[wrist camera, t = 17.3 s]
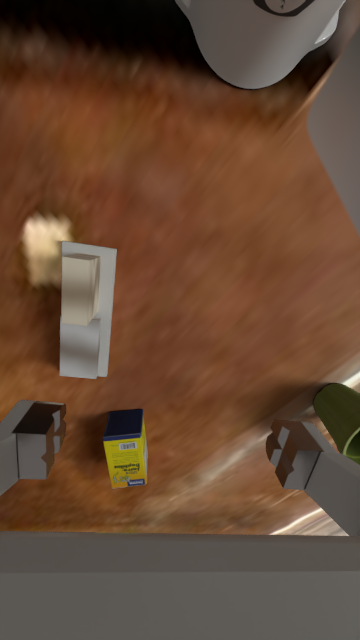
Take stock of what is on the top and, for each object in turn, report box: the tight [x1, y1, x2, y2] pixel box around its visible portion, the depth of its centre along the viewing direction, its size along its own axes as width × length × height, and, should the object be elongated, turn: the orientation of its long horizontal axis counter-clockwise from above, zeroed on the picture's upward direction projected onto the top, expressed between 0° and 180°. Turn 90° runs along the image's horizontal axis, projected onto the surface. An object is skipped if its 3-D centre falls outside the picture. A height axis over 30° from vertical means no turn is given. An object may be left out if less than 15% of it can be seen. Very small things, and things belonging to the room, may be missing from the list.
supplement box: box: [103, 409, 148, 488], centre depth 43 cm, size 6×6×11 cm
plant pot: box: [313, 383, 360, 465], centre depth 41 cm, size 12×12×11 cm
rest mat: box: [61, 241, 117, 377], centre depth 37 cm, size 20×7×1 cm, turn 171°
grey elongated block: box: [60, 253, 101, 379], centre depth 34 cm, size 17×5×6 cm, turn 171°
